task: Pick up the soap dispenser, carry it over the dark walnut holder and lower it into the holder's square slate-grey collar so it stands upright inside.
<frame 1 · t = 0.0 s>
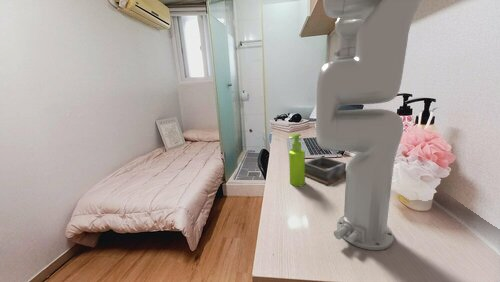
hand: (346, 97, 87), 31 cm above the table, tool pointing down, fingers open, 9 cm apart
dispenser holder: (323, 173, 89), on the table
soap dispenser: (296, 183, 82), on the table
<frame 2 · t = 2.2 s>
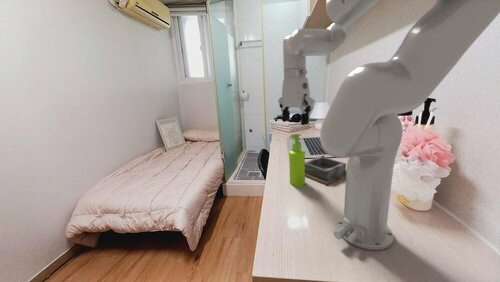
hand: (295, 122, 77), 24 cm above the table, tool pointing down, fingers open, 9 cm apart
nothing on the table moved.
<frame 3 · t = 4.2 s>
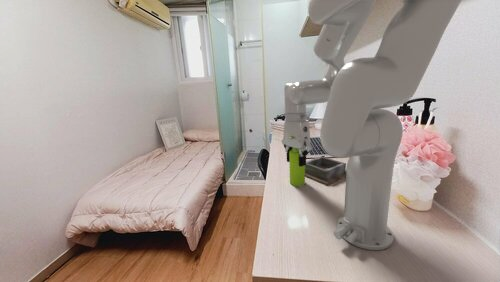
hand: (296, 162, 80), 9 cm above the table, tool pointing down, fingers closed on soap dispenser, 5 cm apart
soap dispenser: (296, 183, 82), on the table, touching gripper
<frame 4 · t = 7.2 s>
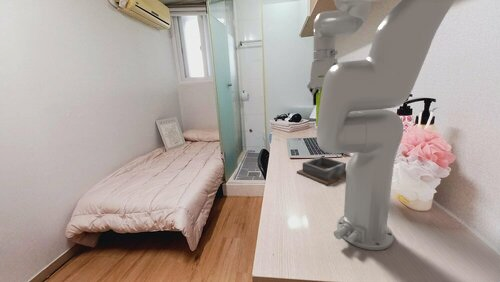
hand: (323, 104, 81), 30 cm above the table, tool pointing down, fingers closed on soap dispenser, 5 cm apart
soap dispenser: (322, 126, 83), point 21 cm above the table, touching gripper
when the fingers open (11 cm above the table, at t = 10.4 s): soap dispenser drops 1 cm, resting on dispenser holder.
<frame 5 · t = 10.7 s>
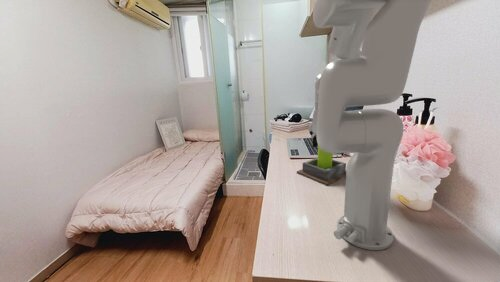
hand: (324, 148, 86), 11 cm above the table, tool pointing down, fingers open, 8 cm apart
soap dispenser: (324, 172, 89), point 1 cm above the table, touching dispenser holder
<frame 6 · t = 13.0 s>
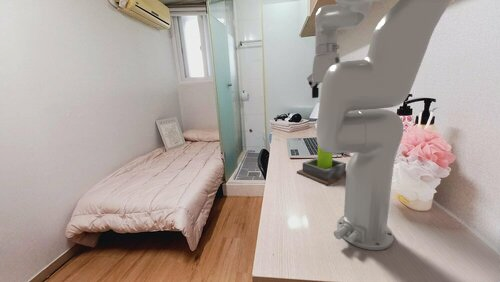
hand: (325, 97, 81), 32 cm above the table, tool pointing down, fingers open, 9 cm apart
nothing on the table moved.
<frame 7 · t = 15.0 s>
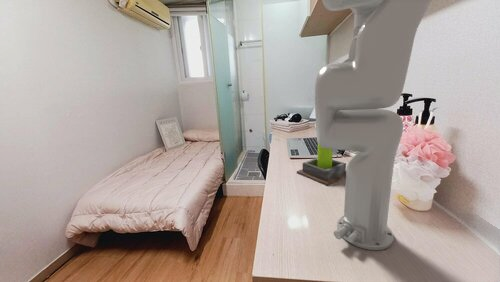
hand: (362, 84, 76), 36 cm above the table, tool pointing down, fingers open, 9 cm apart
nothing on the table moved.
at the end: soap dispenser 0.4 cm off-centre on the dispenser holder, point 0.6 cm above the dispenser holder's base; soap dispenser tilted 0°; the gripper is holding nothing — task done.
